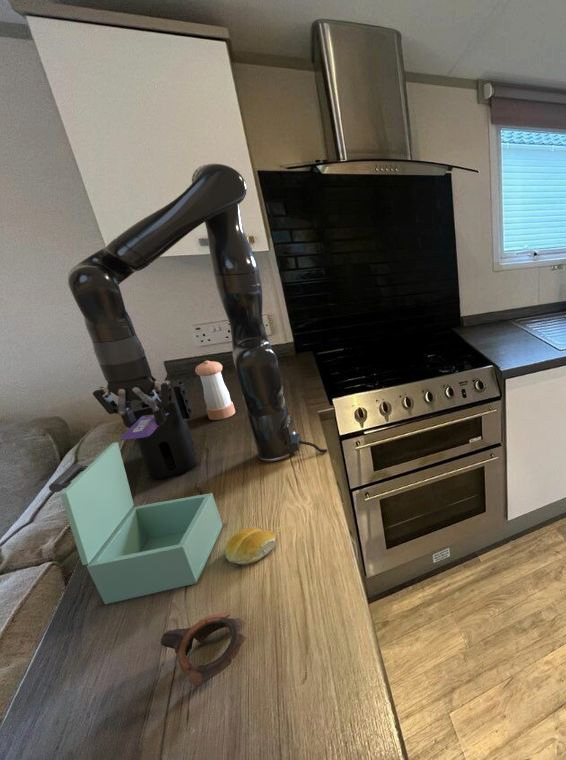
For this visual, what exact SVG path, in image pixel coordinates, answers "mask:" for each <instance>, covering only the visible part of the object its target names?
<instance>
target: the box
mask: <svg viewBox="0 0 566 760" xmlns="http://www.w3.org/2000/svg"><path fill="white" fill-rule="evenodd" d="M223 527H224V525H223V523H222V519H221V515H220V513H219V509H218V507H217V503H216V501H215V498H214V494H213V493H212V492H210V493H203V494H198V495H192V496H186V497H181V498H177V499H176V498H175V499H171V500H165V501H159V502H154V503H153V502H152V503H148V504H141V505H136V506H133V507H132V508H131V509H130V511H129V512H128V513H127V515H126V516H125V517H124V518H123V520H122V521H121V522H120V524H119V525H118V526H117V528H116V529H115V530H114V532H113V533H112V534H111V535H110V537H109V538H108V539H107V541H106V542H105V543H104V545H103V546H102V547H101V549H100V550H99V551H98V552H97V554H96V555H95V556H94V558H93V559H92V560H91V562H90V563H89V564H87V566H86V569H87V570H88V573H89V574H90V577H91V578H92V581H93V583H94V584H95V587H96V589H97V591H98V593H99V595H100V597H101V599H102V601H103V603H104V605H108V604H113V603H117V602H122V601H125V600H129V599H130V600H131V599H134V598H138V597H143V596H147V595H152V594H157V593H161V592H164V591H169V590H173V589H174V590H175V589H178V588H183V587H187V586H190V585H197V583H198V582H199V579H200V576H201V575H202V572H203V570H204V568H205V566H206V563H207V562H208V559H209V557H210V555H211V552H212V550H213V548H214V546H215V544H216V542H217V540H218V537H219V535H220V533H221V531H222V529H223Z"/></svg>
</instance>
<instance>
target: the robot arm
mask: <svg viewBox="0 0 566 760" xmlns="http://www.w3.org/2000/svg"><path fill="white" fill-rule="evenodd" d="M247 190H248V189H247V183H246V181H245V179H244V177H243V176H242V174H241V173H240V172H239V171H238V170H236V169H234V168H233V167H231V166H229V165H226V164H222V163H207V164H203V165H200V166H199V167H196V169H195V171H194V172H193V173H192V176H191V184H189V186H188V187H187V188H186V189H185V190H184V191H183V192H182V193H180V195H179V196H177V197H176V198H175V199H173V200H172V201H170V202H169V203H168V204H165V206H162V207H161V208H159V209H157V210H156V211H154V212H153V213H151V214H149V215H146V217H144V218H142V219H141V220H138V221H137V222H136V223H134V224H133V225H131V226H130V227H129V228H127V229H126V230H124V231H123V232H122V233H121V234H119V235H118V236H116V238H114V239H112V240H111V241H110V242H109V243H108V244H107V245H106V246H104V247H103V248H101V249H99V250H98V251H96V252H94V253H93V254H91V255H89V256H88V257H86V258H84V259H83V260H82V261H80V262H79V263H77V264H76V265H75V266H73V267H72V268H71V269H70V270H69V272H68V274H67V285H68V288H69V291H70V293H71V295H72V297H73V299H74V301H75V303H76V305H77V307H78V308H79V312H80V313H81V314H82V316H83V321H84V325H85V328H86V331H87V333H88V336H89V338H90V341H91V343H92V349H93V352H94V354H95V357H96V360H97V363H98V364H99V365H98V366H99V367H100V370H101V372H102V374H103V377H104V380H105V381H106V382H107V385H106V386H100V387H98V388H97V389H96V390H94V391H93V392H92V395H93V397H94V398H95V399H96V401H98V403H99V404H100V406H102V408H103V409H104V410H105V411H106V412H107V414H109V415H114V414H116V415H119V416H120V417H121V420H122V422H123V424H124V426H125V427H126V428H128V429H129V428H130V427H131V426H132V425H133V424H134V423H135V422H136V418H135V416H134V413H133V411H130V409H131V402H132V401H133V400H143V402H144V403H145V404H148V405H149V406H150V407H151V408H152V409H153V410H154V411H153V415H154V417H155V420H156V423H157V425H162V424H163V423H164V422H165V420H166V419H167V416H166V414H165V411H164V408H165V407H167V406H168V405H169V404H170V403H171V402H172V387H173V383H172V382H173V381H172V380H171V379H166V380H157V379H156V378H155V376H153V374H152V370H151V366H150V363H149V361H148V358H147V356H146V352H145V349H144V347H143V345H142V343H141V341H140V338H139V337H138V335H137V333H136V330H135V327H134V324H133V322H132V319H131V316H130V315H129V313H128V311H127V309H126V305H125V302H124V298H123V295H122V291H121V289H120V284H121V283H123V282H124V281H125V280H127V279H128V278H129V277H131V276H132V275H133V274H134V273H135V272H139V271H142V270H145V269H146V268H148V266H150V265H151V264H153V263H154V262H155V261H156V260H157V259H159V258H160V257H161V256H163V255H164V254H165V253H166V252H168V251H169V250H170V249H171V248H173V247H174V246H175V245H177V244H178V243H179V242H180V241H181V240H182V239H184V238H185V237H186V236H187V235H188V234H190V233H191V232H192V231H195V229H196V228H198V227H199V226H201V225H202V224H205V225H204V226H205V228H206V232H207V233H206V235H207V244H208V250H209V255H210V261H211V267H212V273H213V277H214V283H215V285H216V290H217V293H218V297H219V300H220V302H221V305H222V308H223V310H224V312H225V315H226V318H227V321H228V323H229V329H230V335H231V337H230V338H231V345H232V347H231V349H232V360H233V364H234V367H235V371H236V375H237V379H238V382H239V387H240V390H241V395H242V399H243V401H244V406H245V409H246V413H247V416H248V420H249V421H248V422H249V425H250V428H251V432H252V435H253V439H254V443H255V447H256V451H257V454H258V455H257V456H258V459H259V460H260V461H261V462H264V463H274V462H281V461H283V460H286V459H288V458H290V457H295V455H296V453H297V451H298V452H299V451H300V449H301V448H300V447H301V445H306V446H311V447H312V448H314V449H315V450H316V451H317V452H320V453H328V449H327V448H324V449H322V448H321V447H319V446H318V445H317V444H315V443H312V442H310V441H304V440H302V436H301V433H296V430H295V425H294V420H293V416H291V415H290V414H289V410H288V409H289V408H288V404H287V400H286V396H285V390H284V382H283V378H282V373H281V368H280V364H279V360H278V356H277V354H276V353H275V351H274V350H273V349H274V348H272V345H271V343H270V341H269V339H268V334H267V332H266V328H265V325H264V319H263V289H262V288H263V287H262V281H261V275H260V270H259V265H258V263H257V260H256V257H255V255H254V252H253V250H252V247H251V245H250V241H248V238H247V236H246V232H245V231H244V228H243V223H242V217H241V209H240V204H241V203H242V202H243V201H244V199H245V198H246V196H247V192H248V191H247ZM155 386H157V387H158V389H159V391H161V400H160V399H159V398H158V394H157V393H156V392H155V391H154V390H153V389H154V387H155ZM112 394H113V395H115V396H117V401H116V400H115V398H114V397H113V396H112Z"/></svg>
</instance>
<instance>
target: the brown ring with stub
mask: <svg viewBox="0 0 566 760" xmlns="http://www.w3.org/2000/svg"><path fill="white" fill-rule="evenodd" d="M230 616H231V614H230V613H228V612H220V613H214V614H212V615H208V616H205V617H204V618H202V619H200V620H199V621H198V622H197V623H195V624H194V625H192V626H191V627H187V628H176V629H169V630H166V631H165V632H164V633H163V635H162V636H161V638H160V645H161V646H163V647H165V648H170V649H172V650H174V652H175V654H177V662H178V665H179V667H180V670H181V671H182V672H183V673H184V674H185V675H186V676H188V680H187V682H188V683H189V684H190V685H197V686H200V685H202V684H203V683H204V682H208V681H209V680H211V679H212V678H214V677H215V676H217V675H218V674H220V673H221V672H223V671H224V670H225V669H226V668H228V667H229V666H230V665H231V664H232V661H233V659H235V658H236V657H237V655H238V653H239V651H240V649H241V647H242V645H243V644H244V642H246V640H247V639H248V637H247V636H245V635H244V634H242V633H240V632H239V631H240V630H241V628H242V625H243V623H244V621H243V620H242V619H241V618H239V617H238V618H235V617H231V618H230ZM225 628H228V629H229V631H230V635H231V636H230V642H229V644H228V646H227V648H226V649H225V651H224V652H223V653H222V654H221V655H220V656H219V657H217V658H216V659H215V660H213V661H211V662H209V663H206V664H203V665H198V666H197V668H194V667H193V666H192V663H191V662H190V661H189V660H188V657H187V656H188V655H189V653H190V651H191V650H192V648H193V643H194V640H196V641H197V642H198V643H199V644H202V643H203V642H204V641H205V640H206V639H207V638H208V637H209V636H210V635H212V634H213V633H215V632H217V631H219V630H221V629H225Z"/></svg>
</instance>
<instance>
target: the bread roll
mask: <svg viewBox="0 0 566 760" xmlns="http://www.w3.org/2000/svg"><path fill="white" fill-rule="evenodd" d="M276 540H277V536H276V534H275V533H274V532H273V531H272V530H266V529H265V530H264V529H262V528H260V527H256V526H251V527H246V528H243V529H241V530H239V531H237V532H236V533H235V534H233V535H232V536H231V537H230V538H229V540H228V541H226V544H225V550H224V555H225V558H226V559H227V561H228V562H230V563H232V564H238V565H249V564H253V563H256V562H258V561H260V560H261V559H263V558H264V557H265V556H267V555H268V554H269V553H270V552H271V551H273V549H274V548H275V547H276Z"/></svg>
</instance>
